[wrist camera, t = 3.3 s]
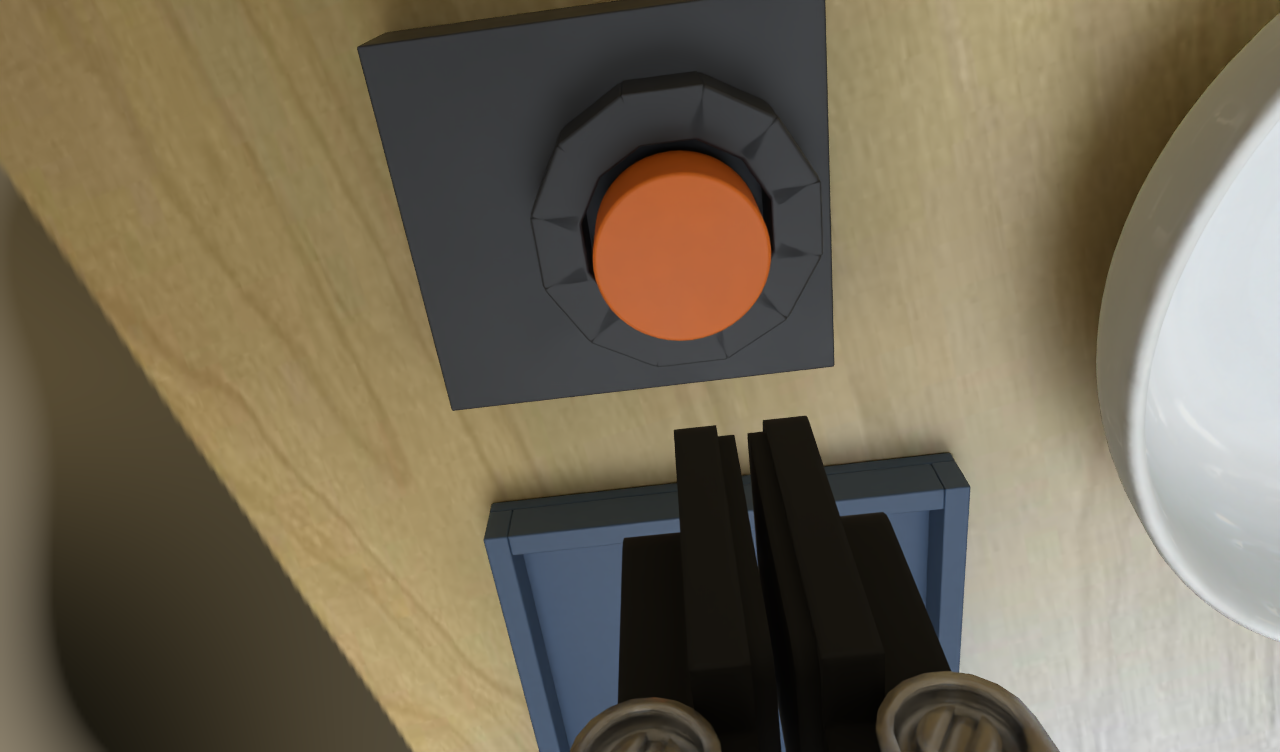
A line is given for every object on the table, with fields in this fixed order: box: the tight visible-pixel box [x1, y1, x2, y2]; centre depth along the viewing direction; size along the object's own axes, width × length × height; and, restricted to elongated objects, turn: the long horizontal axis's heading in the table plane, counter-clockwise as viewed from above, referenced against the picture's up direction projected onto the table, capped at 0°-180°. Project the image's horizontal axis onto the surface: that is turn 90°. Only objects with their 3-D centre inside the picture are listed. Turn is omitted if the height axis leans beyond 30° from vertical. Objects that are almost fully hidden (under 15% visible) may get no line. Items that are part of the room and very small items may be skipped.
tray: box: [484, 453, 970, 752], centre depth 32 cm, size 16×16×2 cm
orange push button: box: [593, 150, 771, 341], centre depth 20 cm, size 4×4×2 cm
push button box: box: [357, 0, 834, 411], centre depth 23 cm, size 11×10×4 cm
